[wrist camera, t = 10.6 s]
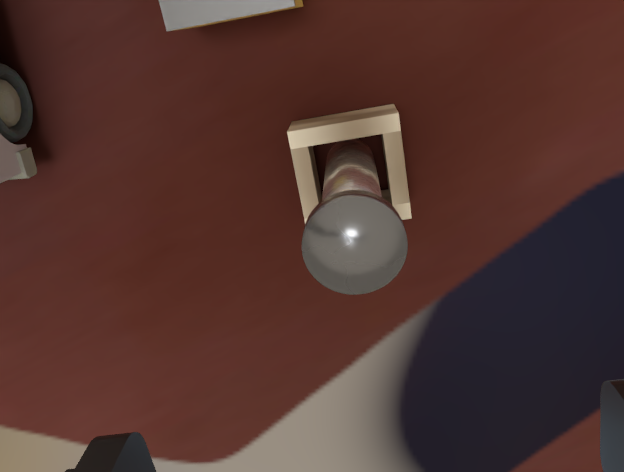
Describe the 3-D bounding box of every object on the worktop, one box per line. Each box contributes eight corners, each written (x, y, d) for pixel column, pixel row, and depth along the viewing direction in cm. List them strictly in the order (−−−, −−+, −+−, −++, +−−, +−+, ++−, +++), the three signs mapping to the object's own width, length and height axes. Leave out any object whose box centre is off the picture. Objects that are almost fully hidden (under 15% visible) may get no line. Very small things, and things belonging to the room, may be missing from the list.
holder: (310, 216, 29) (307, 234, 27) (291, 121, 27) (287, 132, 25) (406, 201, 29) (411, 218, 26) (393, 103, 27) (398, 112, 24)
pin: (322, 199, 29) (312, 301, 19) (310, 134, 28) (292, 206, 18) (388, 189, 28) (413, 286, 18) (379, 123, 27) (400, 189, 17)
